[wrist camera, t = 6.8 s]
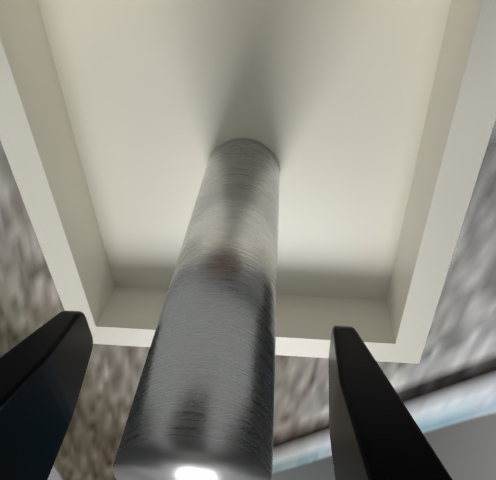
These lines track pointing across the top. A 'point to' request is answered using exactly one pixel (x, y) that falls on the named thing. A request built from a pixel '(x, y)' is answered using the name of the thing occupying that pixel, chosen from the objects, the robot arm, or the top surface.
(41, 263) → the top surface
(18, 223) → the top surface
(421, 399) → the top surface
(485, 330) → the top surface
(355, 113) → the tray
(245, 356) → the lock pin
